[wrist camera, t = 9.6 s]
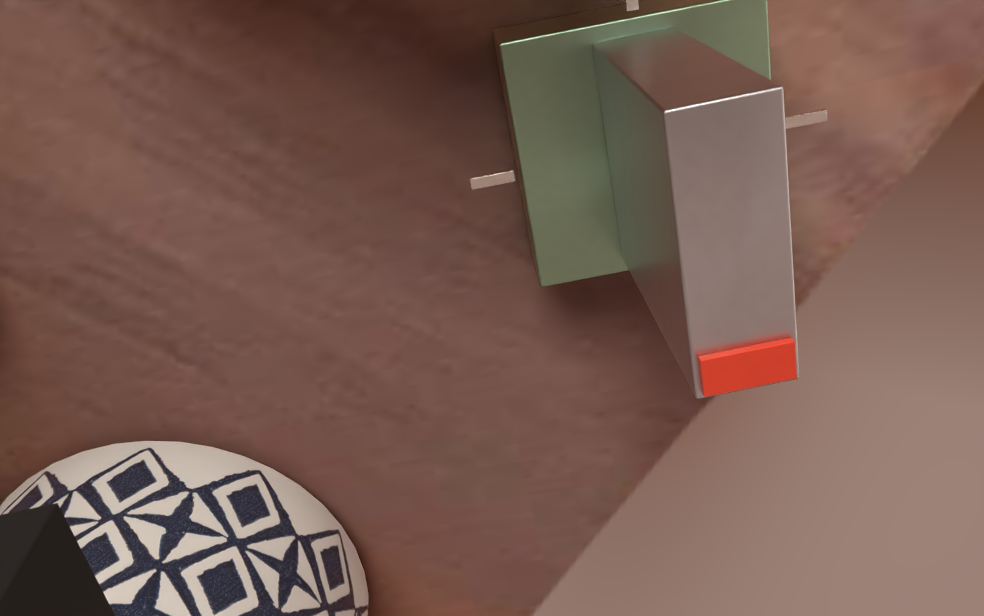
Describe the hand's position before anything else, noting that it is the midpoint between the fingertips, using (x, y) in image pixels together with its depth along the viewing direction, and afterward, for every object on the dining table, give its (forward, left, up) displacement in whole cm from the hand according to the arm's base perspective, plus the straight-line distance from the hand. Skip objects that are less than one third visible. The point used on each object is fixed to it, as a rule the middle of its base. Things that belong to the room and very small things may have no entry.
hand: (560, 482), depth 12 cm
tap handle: (+5, -1, -17) cm, 18 cm away
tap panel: (+5, -1, -20) cm, 21 cm away
